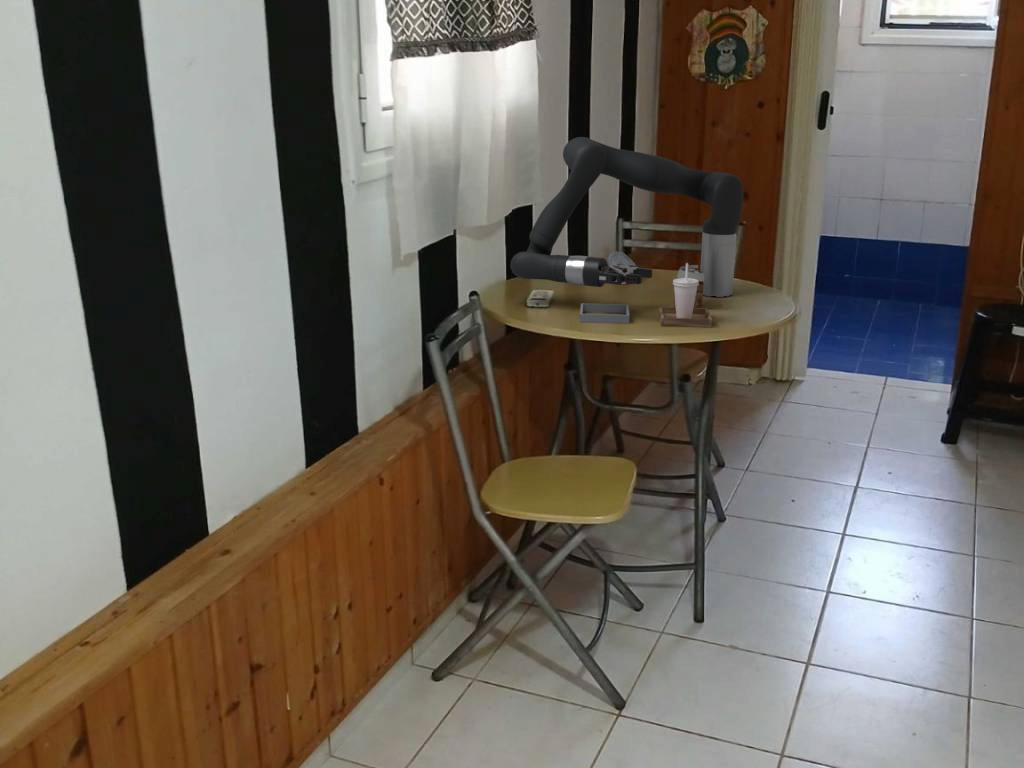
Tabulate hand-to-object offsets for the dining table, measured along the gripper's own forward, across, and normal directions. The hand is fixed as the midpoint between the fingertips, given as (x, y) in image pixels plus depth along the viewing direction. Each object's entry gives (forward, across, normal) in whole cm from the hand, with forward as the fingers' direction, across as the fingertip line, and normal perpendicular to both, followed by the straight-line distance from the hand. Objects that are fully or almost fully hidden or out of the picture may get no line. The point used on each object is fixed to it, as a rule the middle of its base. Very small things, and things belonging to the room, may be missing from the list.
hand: (646, 276), depth 262 cm
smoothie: (+10, 0, +10) cm, 14 cm away
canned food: (-20, +40, +11) cm, 46 cm away
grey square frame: (-9, -5, +10) cm, 15 cm away
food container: (+6, +17, +10) cm, 21 cm away
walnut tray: (+10, 0, +10) cm, 15 cm away
